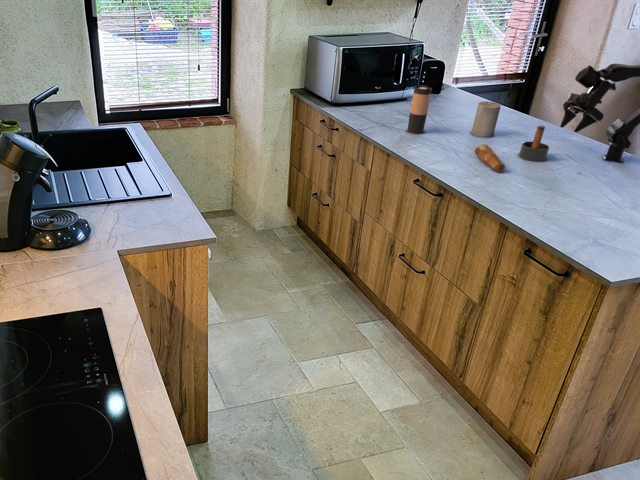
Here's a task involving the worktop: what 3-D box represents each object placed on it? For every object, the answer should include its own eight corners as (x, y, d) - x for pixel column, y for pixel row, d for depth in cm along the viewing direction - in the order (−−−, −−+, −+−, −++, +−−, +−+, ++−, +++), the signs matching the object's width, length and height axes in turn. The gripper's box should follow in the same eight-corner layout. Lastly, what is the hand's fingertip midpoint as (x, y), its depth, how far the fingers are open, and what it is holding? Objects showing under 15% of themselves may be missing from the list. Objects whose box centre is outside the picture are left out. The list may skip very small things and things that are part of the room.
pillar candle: (482, 130, 279) (490, 97, 271) (498, 136, 272) (506, 102, 263) (466, 132, 275) (474, 99, 267) (482, 138, 268) (490, 105, 260)
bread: (487, 156, 248) (490, 143, 244) (505, 173, 232) (509, 159, 229) (472, 156, 247) (475, 143, 244) (490, 173, 231) (493, 159, 228)
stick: (529, 154, 249) (537, 124, 242) (536, 155, 248) (545, 125, 242) (528, 156, 247) (537, 126, 240) (536, 157, 246) (545, 127, 239)
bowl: (519, 151, 254) (522, 140, 251) (545, 155, 250) (549, 143, 248) (518, 159, 246) (521, 147, 243) (545, 163, 242) (549, 151, 240)
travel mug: (405, 132, 273) (413, 88, 263) (408, 128, 279) (415, 84, 268) (422, 134, 271) (430, 90, 260) (424, 130, 277) (433, 86, 266)
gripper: (567, 80, 240) (541, 115, 245) (597, 87, 223) (568, 124, 229) (585, 95, 244) (559, 128, 249) (616, 102, 227) (587, 138, 233)
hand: (567, 129), depth 240 cm, fingers open, 9 cm apart
